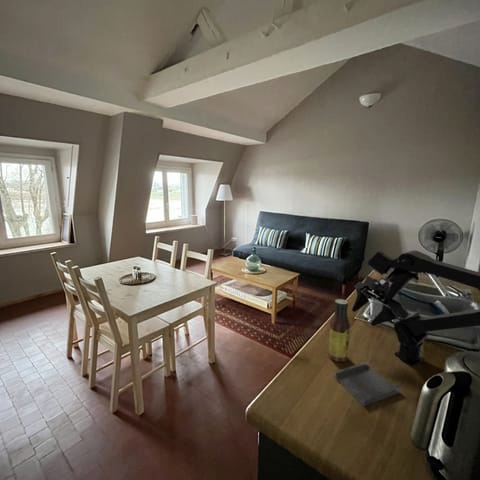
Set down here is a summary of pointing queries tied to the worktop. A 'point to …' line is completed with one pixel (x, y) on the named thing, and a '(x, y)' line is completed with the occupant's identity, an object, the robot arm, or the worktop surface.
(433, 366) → the worktop surface
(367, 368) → the floor track
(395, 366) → the worktop surface
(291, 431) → the worktop surface
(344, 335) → the sauce bottle
